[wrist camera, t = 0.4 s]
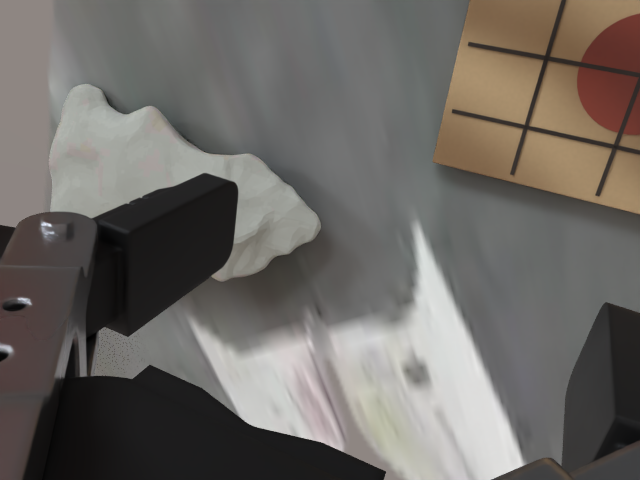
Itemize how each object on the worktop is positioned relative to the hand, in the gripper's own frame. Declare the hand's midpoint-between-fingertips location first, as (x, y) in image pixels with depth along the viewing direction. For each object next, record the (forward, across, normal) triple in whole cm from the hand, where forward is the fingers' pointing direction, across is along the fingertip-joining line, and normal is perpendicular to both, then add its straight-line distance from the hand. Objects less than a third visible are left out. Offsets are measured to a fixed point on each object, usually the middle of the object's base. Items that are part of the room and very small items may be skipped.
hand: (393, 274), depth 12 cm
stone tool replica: (+27, +23, +13) cm, 37 cm away
